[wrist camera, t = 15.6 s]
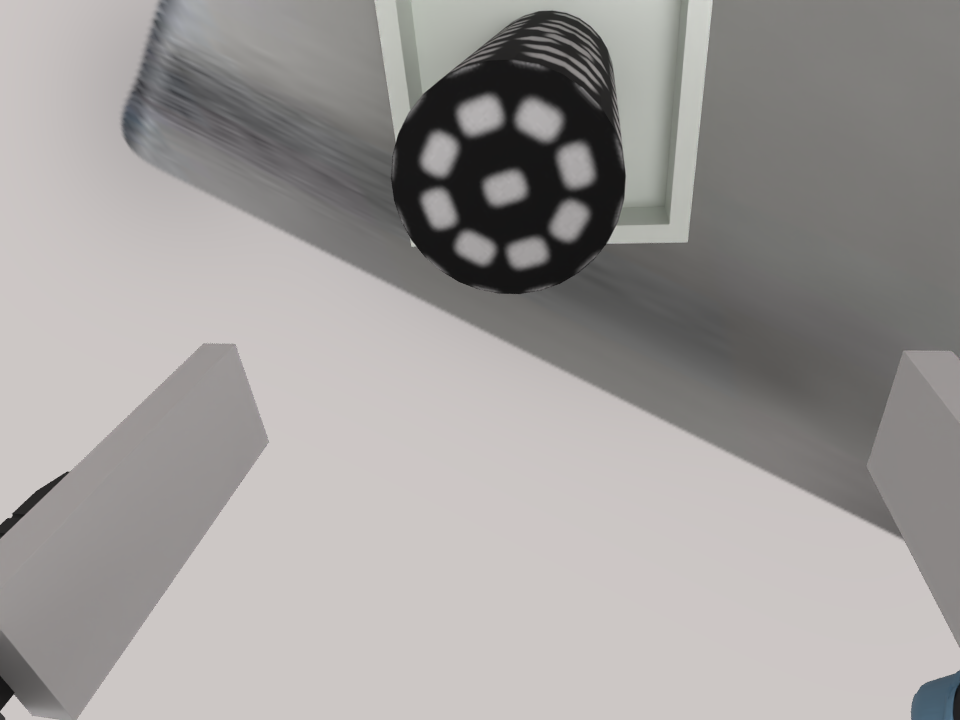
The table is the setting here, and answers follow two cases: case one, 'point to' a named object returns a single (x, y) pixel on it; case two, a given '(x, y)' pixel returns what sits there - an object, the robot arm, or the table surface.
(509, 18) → the tray
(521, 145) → the spotted tube
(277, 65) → the table surface
